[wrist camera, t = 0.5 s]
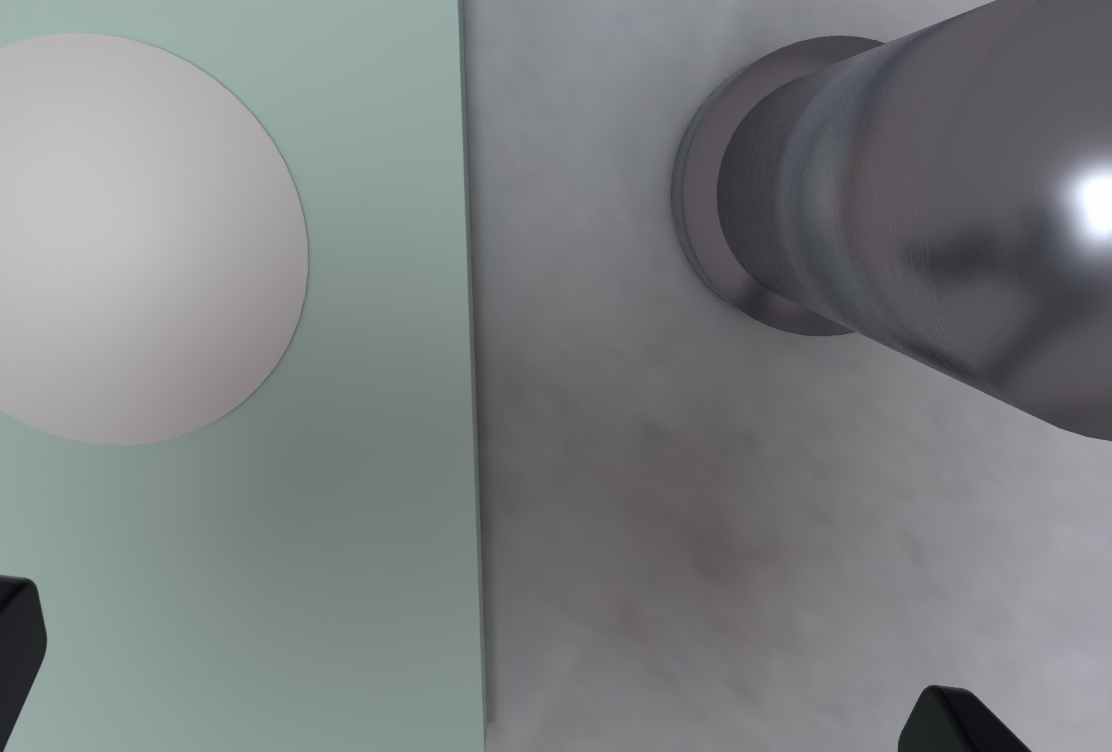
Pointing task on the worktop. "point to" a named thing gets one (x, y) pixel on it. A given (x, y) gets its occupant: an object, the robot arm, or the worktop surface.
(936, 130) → the grey translucent cylinder
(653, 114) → the worktop surface
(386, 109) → the sage board
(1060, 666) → the worktop surface
